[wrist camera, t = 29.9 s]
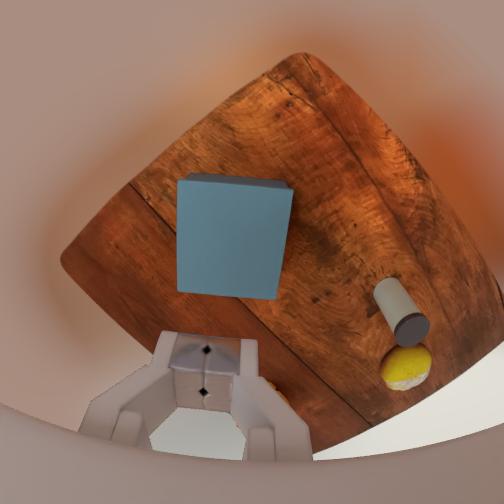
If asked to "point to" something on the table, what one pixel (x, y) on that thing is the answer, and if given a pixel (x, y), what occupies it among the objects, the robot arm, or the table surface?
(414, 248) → the table surface
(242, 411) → the robot arm
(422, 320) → the jar
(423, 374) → the fruit
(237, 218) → the lid
